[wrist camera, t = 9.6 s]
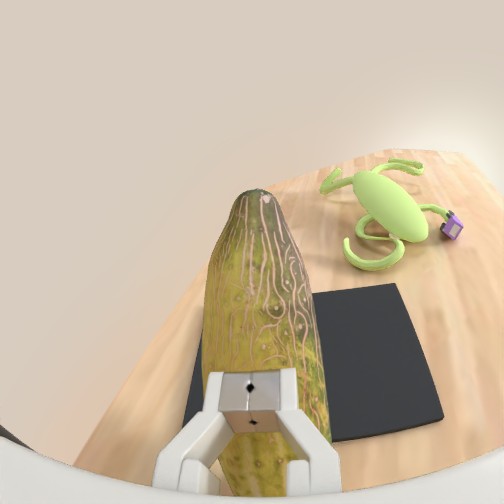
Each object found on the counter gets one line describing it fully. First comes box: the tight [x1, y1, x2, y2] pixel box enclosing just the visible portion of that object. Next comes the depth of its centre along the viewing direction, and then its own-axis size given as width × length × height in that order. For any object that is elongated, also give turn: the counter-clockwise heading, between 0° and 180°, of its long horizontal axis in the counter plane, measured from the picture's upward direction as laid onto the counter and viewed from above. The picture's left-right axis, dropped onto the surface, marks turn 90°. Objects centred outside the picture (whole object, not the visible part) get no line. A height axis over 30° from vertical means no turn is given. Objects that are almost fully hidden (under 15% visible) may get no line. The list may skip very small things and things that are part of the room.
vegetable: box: [202, 188, 332, 497], centre depth 15 cm, size 6×6×20 cm
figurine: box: [319, 158, 463, 271], centre depth 42 cm, size 18×27×6 cm
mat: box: [182, 283, 444, 442], centre depth 25 cm, size 20×16×1 cm
